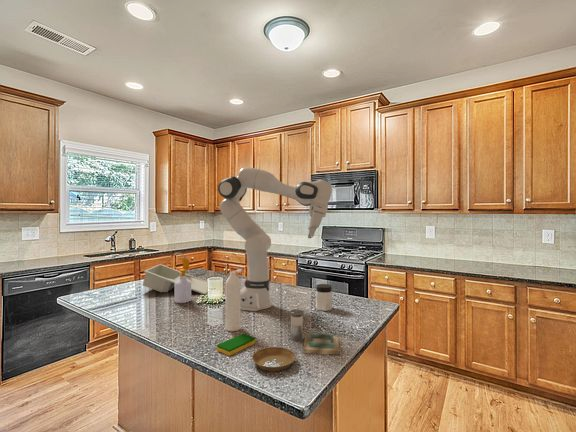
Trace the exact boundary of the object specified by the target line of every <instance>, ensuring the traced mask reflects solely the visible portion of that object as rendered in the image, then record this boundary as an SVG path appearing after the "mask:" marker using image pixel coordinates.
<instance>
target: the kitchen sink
mask: <svg viewBox="0 0 576 432" xmlns="http://www.w3.org/2000/svg"><path fill="white" fill-rule="evenodd" d="M173 255H174V256H176V255H181V256H183V258H185V259H188V258H187V256H186V255H185V254H183V253H181V252H175V253H174V254H173ZM178 270H179V269H178ZM178 270H177V269H175V268H171V267H169V266H167V265H164V264H161V263H159V264H157V265H155V266H152V267H150V268H148V269H146V270H143V273H145V275H144V279H143V282H142V286H143V287H146V288H149V289H150V290H151V289H152V290H155V291H157V292H160V293H162V292H167V293H168V291H169V290H170V291H171V290H173V289H174V288H173V287H174V285H175V282H176V281H178V280H179V279H180V275H181V272H180V271H178ZM190 272H191V270H190V269H189V270H186V271H185V272H184V274H186V279H188V280H189V281H191V291H193V292H196V293H199V294H201V295H204V294H205V295H207V294H208V292H207V282H208V281H207V280H204V279H201V278H199V277H196V276H194V275H192V274H190ZM172 288H173V289H172ZM170 291H169V292H170Z"/></svg>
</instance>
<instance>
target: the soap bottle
mask: <svg viewBox="0 0 576 432" xmlns="http://www.w3.org/2000/svg"><path fill="white" fill-rule="evenodd" d="M178 260H182V268H180V269H178V271H180V272H181V275H180V279H179V280H178V281H176V282H175V285H174V288H173V289H174V294H173V295H174V303H177V304H185V303H186V302H187V303H190V302H191V301H192V290H191V281H189V280H188V279H186V274H187V273H186V274H184V272H185V271H186V270H190V260H189V258H187V259H185V258H184V257H178ZM189 301H190V302H189Z"/></svg>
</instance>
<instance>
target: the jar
mask: <svg viewBox="0 0 576 432" xmlns="http://www.w3.org/2000/svg"><path fill="white" fill-rule="evenodd" d="M332 287H333V286H332V285H331V284H327V283H319V284H316V286H315V308H316V310H317V311H323V312H326V311H333V310H332V309H333V291H332Z"/></svg>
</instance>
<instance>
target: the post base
mask: <svg viewBox="0 0 576 432" xmlns="http://www.w3.org/2000/svg"><path fill="white" fill-rule="evenodd" d="M302 351H303V353H302V354H311V353H313V354H315V353H317V354H315V355H329V354H340V352H341V351H340V343H339V336H338V335H334V334H333V333H313V332H312V333H311V332H310V333H309V334H305V335H304V342H303V350H302Z"/></svg>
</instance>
